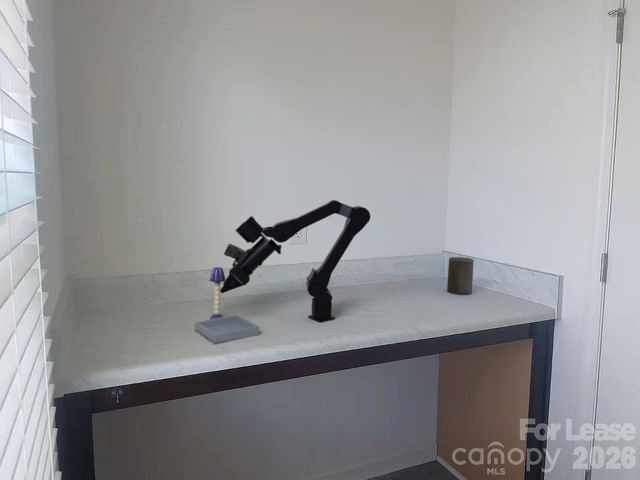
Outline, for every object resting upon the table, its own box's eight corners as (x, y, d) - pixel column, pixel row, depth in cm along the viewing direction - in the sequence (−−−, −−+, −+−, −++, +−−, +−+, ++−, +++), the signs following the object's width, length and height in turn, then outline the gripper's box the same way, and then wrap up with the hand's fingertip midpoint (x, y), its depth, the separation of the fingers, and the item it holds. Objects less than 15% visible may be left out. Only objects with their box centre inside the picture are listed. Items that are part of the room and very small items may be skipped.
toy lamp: (219, 316, 147) (218, 265, 145) (228, 319, 144) (228, 267, 142) (207, 320, 144) (206, 267, 141) (216, 323, 141) (215, 270, 138)
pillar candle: (450, 294, 181) (452, 257, 179) (444, 288, 191) (446, 253, 189) (475, 295, 181) (477, 257, 179) (468, 289, 190) (470, 253, 188)
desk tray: (259, 334, 131) (259, 326, 131) (214, 344, 123) (214, 335, 122) (237, 322, 142) (237, 314, 141) (194, 330, 134) (194, 322, 133)
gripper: (241, 231, 150) (207, 264, 151) (237, 239, 132) (199, 276, 132) (265, 255, 152) (232, 288, 152) (265, 266, 134) (226, 303, 134)
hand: (222, 288), depth 143 cm, fingers open, 9 cm apart
